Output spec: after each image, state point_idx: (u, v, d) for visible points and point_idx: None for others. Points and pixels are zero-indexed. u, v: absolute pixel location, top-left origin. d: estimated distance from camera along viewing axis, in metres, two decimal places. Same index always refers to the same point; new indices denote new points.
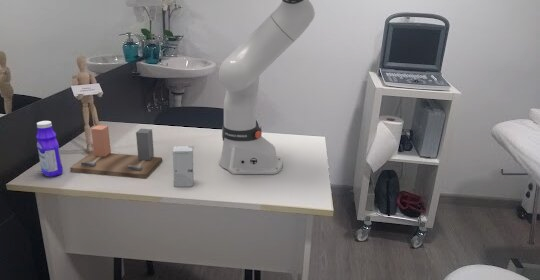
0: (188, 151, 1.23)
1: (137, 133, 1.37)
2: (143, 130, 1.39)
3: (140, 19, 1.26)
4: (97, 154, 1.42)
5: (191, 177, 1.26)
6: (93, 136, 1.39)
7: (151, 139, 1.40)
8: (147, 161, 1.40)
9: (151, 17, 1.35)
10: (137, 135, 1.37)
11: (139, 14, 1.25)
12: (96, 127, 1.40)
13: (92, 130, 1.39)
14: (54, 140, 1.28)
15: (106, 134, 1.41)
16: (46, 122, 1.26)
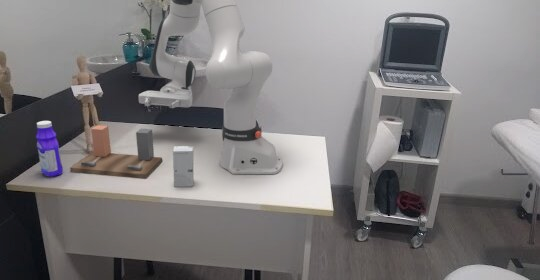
0: (188, 151, 1.23)
1: (137, 133, 1.37)
2: (143, 130, 1.39)
3: None
4: (97, 154, 1.42)
5: (191, 177, 1.26)
6: (93, 136, 1.39)
7: (151, 139, 1.40)
8: (147, 161, 1.40)
9: None
10: (137, 135, 1.37)
11: (145, 100, 1.53)
12: (96, 127, 1.40)
13: (92, 130, 1.39)
14: (54, 140, 1.28)
15: (106, 134, 1.41)
16: (46, 122, 1.26)
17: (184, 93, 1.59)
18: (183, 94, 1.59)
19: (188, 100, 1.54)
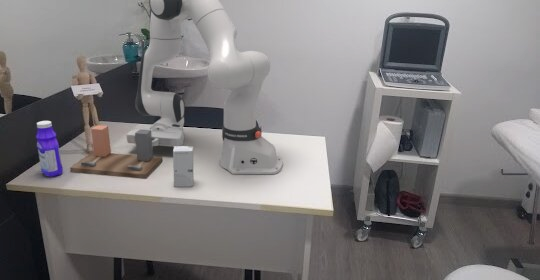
0: (188, 151, 1.23)
1: (136, 134, 1.36)
2: (142, 131, 1.38)
3: None
4: (97, 154, 1.42)
5: (191, 177, 1.26)
6: (93, 136, 1.39)
7: (150, 140, 1.39)
8: (147, 161, 1.40)
9: None
10: (136, 136, 1.36)
11: None
12: (96, 127, 1.40)
13: (92, 130, 1.39)
14: (54, 140, 1.28)
15: (106, 134, 1.41)
16: (46, 122, 1.26)
17: (175, 131, 1.50)
18: (174, 132, 1.50)
19: (178, 139, 1.45)
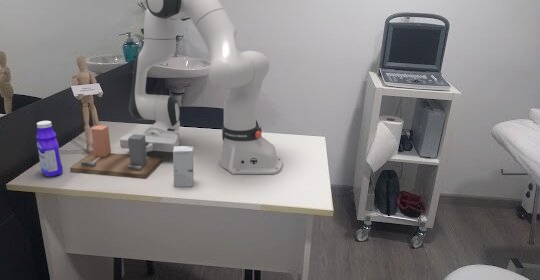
0: (188, 151, 1.23)
1: (129, 139, 1.31)
2: (136, 136, 1.33)
3: None
4: (97, 154, 1.42)
5: (191, 177, 1.26)
6: (93, 136, 1.39)
7: (144, 145, 1.35)
8: (147, 161, 1.40)
9: None
10: (129, 141, 1.32)
11: None
12: (96, 127, 1.40)
13: (92, 130, 1.39)
14: (54, 140, 1.28)
15: (106, 134, 1.41)
16: (46, 122, 1.26)
17: (170, 135, 1.45)
18: (169, 137, 1.45)
19: (173, 144, 1.40)
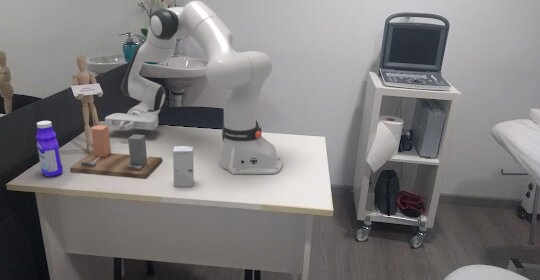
0: (188, 151, 1.23)
1: (129, 139, 1.31)
2: (136, 136, 1.33)
3: None
4: (97, 154, 1.42)
5: (191, 177, 1.26)
6: (93, 136, 1.39)
7: (144, 145, 1.35)
8: (147, 161, 1.40)
9: None
10: (129, 141, 1.32)
11: (120, 124, 1.58)
12: (96, 127, 1.40)
13: (92, 130, 1.39)
14: (54, 140, 1.28)
15: (106, 134, 1.41)
16: (46, 122, 1.26)
17: (149, 115, 1.65)
18: (148, 116, 1.64)
19: (152, 123, 1.60)
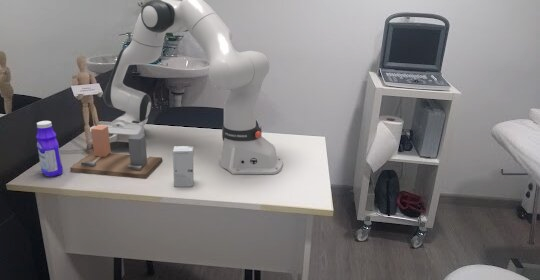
0: (188, 151, 1.23)
1: (129, 139, 1.31)
2: (136, 136, 1.33)
3: None
4: (97, 154, 1.41)
5: (191, 177, 1.26)
6: (93, 136, 1.39)
7: (144, 145, 1.35)
8: (147, 161, 1.40)
9: None
10: (129, 141, 1.32)
11: None
12: (96, 127, 1.40)
13: (92, 130, 1.38)
14: (54, 140, 1.28)
15: (106, 134, 1.41)
16: (46, 122, 1.26)
17: (134, 127, 1.52)
18: (133, 128, 1.52)
19: None
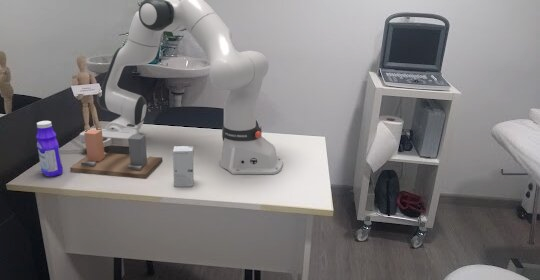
0: (188, 151, 1.23)
1: (129, 139, 1.31)
2: (136, 136, 1.33)
3: None
4: (91, 158, 1.38)
5: (191, 177, 1.26)
6: (86, 141, 1.35)
7: (144, 145, 1.35)
8: (147, 161, 1.40)
9: None
10: (129, 141, 1.32)
11: None
12: (89, 131, 1.36)
13: (85, 134, 1.35)
14: (54, 140, 1.28)
15: (99, 138, 1.37)
16: (46, 122, 1.26)
17: (129, 131, 1.48)
18: (128, 132, 1.48)
19: None
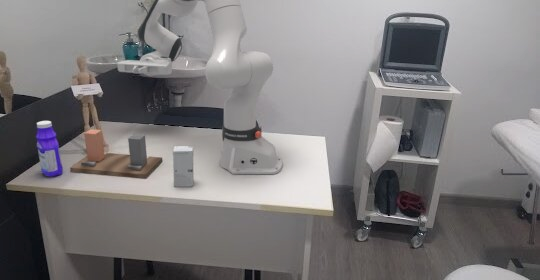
0: (188, 151, 1.23)
1: (129, 139, 1.31)
2: (136, 136, 1.33)
3: None
4: (90, 158, 1.38)
5: (191, 177, 1.26)
6: (86, 141, 1.35)
7: (144, 145, 1.35)
8: (147, 161, 1.40)
9: None
10: (129, 141, 1.32)
11: None
12: (89, 131, 1.36)
13: (85, 134, 1.35)
14: (54, 140, 1.28)
15: (99, 138, 1.37)
16: (46, 122, 1.26)
17: (163, 61, 1.60)
18: (162, 62, 1.60)
19: (166, 67, 1.55)
